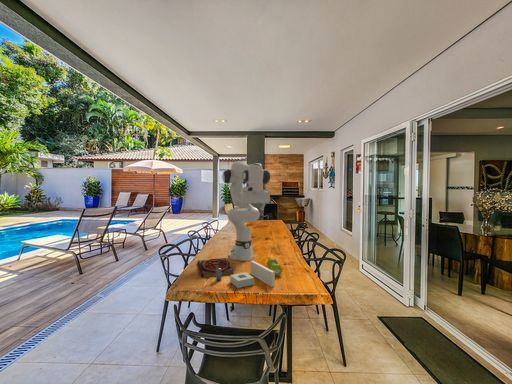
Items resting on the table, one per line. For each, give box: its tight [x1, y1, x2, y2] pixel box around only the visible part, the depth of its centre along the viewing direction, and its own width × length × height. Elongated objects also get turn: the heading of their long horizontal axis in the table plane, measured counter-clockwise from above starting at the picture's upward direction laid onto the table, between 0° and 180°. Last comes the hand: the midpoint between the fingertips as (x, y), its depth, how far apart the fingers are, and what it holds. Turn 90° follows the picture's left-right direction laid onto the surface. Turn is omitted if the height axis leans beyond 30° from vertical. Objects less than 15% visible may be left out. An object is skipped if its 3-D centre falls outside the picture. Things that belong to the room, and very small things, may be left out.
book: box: [196, 257, 235, 279], centre depth 169 cm, size 28×21×5 cm
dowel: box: [215, 268, 222, 282], centre depth 148 cm, size 3×3×7 cm
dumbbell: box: [266, 257, 283, 277], centre depth 164 cm, size 16×8×7 cm, turn 6°
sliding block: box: [229, 272, 255, 289], centre depth 144 cm, size 10×10×4 cm
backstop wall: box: [249, 260, 276, 287], centre depth 150 cm, size 24×2×8 cm, turn 31°
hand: (255, 210), depth 158 cm, fingers open, 8 cm apart
